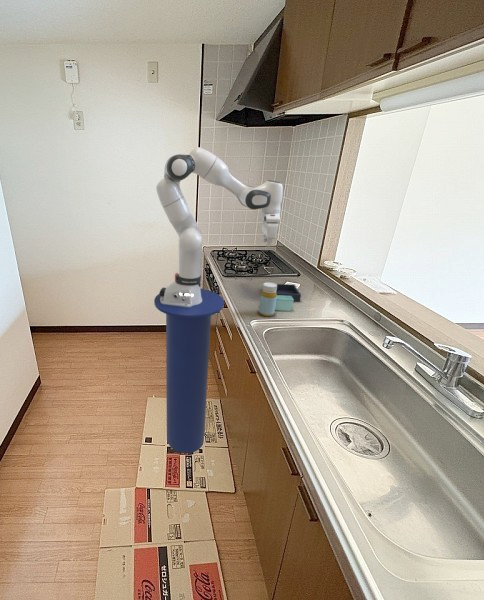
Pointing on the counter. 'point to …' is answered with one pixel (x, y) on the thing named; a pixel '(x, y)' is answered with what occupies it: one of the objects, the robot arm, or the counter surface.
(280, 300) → the case
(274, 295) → the bottle
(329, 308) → the counter surface
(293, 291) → the tote
